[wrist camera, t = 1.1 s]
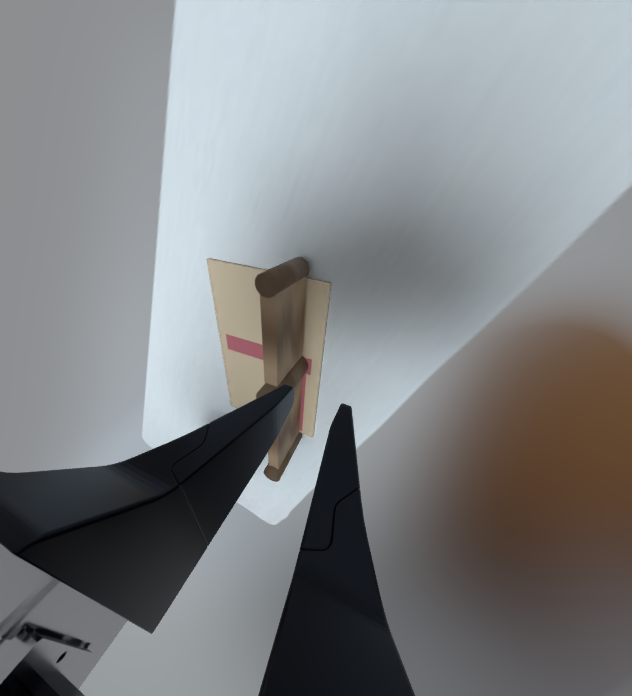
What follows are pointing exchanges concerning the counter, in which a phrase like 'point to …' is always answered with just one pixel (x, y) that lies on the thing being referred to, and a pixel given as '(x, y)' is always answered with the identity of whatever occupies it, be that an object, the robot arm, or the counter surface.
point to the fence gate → (282, 317)
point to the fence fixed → (286, 423)
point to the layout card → (246, 335)
